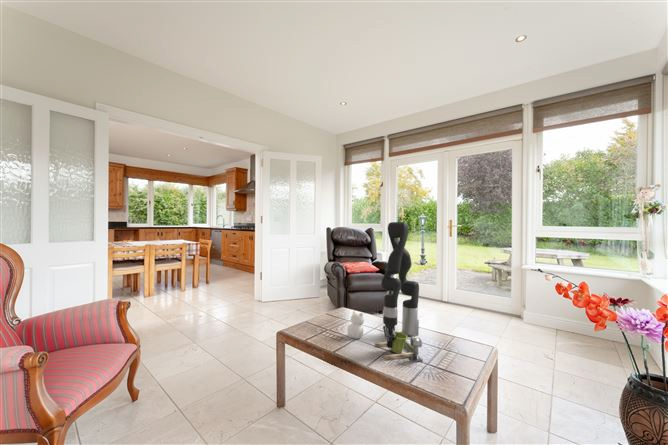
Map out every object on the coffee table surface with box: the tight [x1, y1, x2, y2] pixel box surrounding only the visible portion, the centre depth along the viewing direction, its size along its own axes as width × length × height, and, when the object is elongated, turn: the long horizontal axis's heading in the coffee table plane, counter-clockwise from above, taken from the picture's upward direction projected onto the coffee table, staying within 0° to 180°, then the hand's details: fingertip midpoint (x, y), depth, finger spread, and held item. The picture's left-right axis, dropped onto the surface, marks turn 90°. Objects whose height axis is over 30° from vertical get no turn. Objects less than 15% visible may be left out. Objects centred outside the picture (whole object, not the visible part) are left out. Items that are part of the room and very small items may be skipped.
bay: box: [374, 340, 419, 361], centre depth 143 cm, size 18×15×3 cm
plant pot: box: [390, 331, 408, 354], centre depth 143 cm, size 9×9×9 cm
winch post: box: [407, 335, 424, 363], centre depth 135 cm, size 7×5×13 cm
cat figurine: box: [347, 310, 365, 340], centre depth 160 cm, size 9×12×15 cm
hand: (389, 347), depth 142 cm, fingers closed
